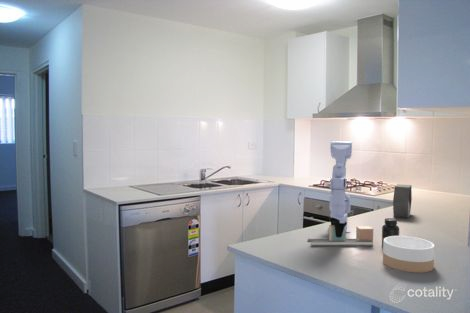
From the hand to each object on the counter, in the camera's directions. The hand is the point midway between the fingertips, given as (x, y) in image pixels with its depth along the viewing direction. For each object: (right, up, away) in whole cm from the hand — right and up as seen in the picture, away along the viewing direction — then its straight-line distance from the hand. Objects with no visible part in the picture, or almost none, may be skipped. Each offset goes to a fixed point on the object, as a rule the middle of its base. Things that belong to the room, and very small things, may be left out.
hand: (337, 235), depth 165 cm
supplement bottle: (+21, -4, -5) cm, 22 cm away
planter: (+52, 0, +54) cm, 75 cm away
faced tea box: (+12, -4, 0) cm, 12 cm away
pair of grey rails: (+1, -3, 0) cm, 4 cm away
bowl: (+19, -6, -25) cm, 32 cm away
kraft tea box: (0, -3, 0) cm, 3 cm away
